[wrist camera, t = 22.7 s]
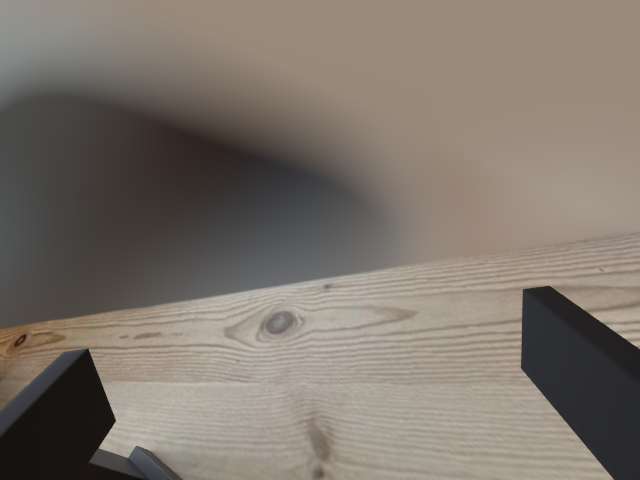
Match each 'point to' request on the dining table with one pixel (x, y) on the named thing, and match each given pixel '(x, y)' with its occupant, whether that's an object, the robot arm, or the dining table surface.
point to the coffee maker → (127, 467)
